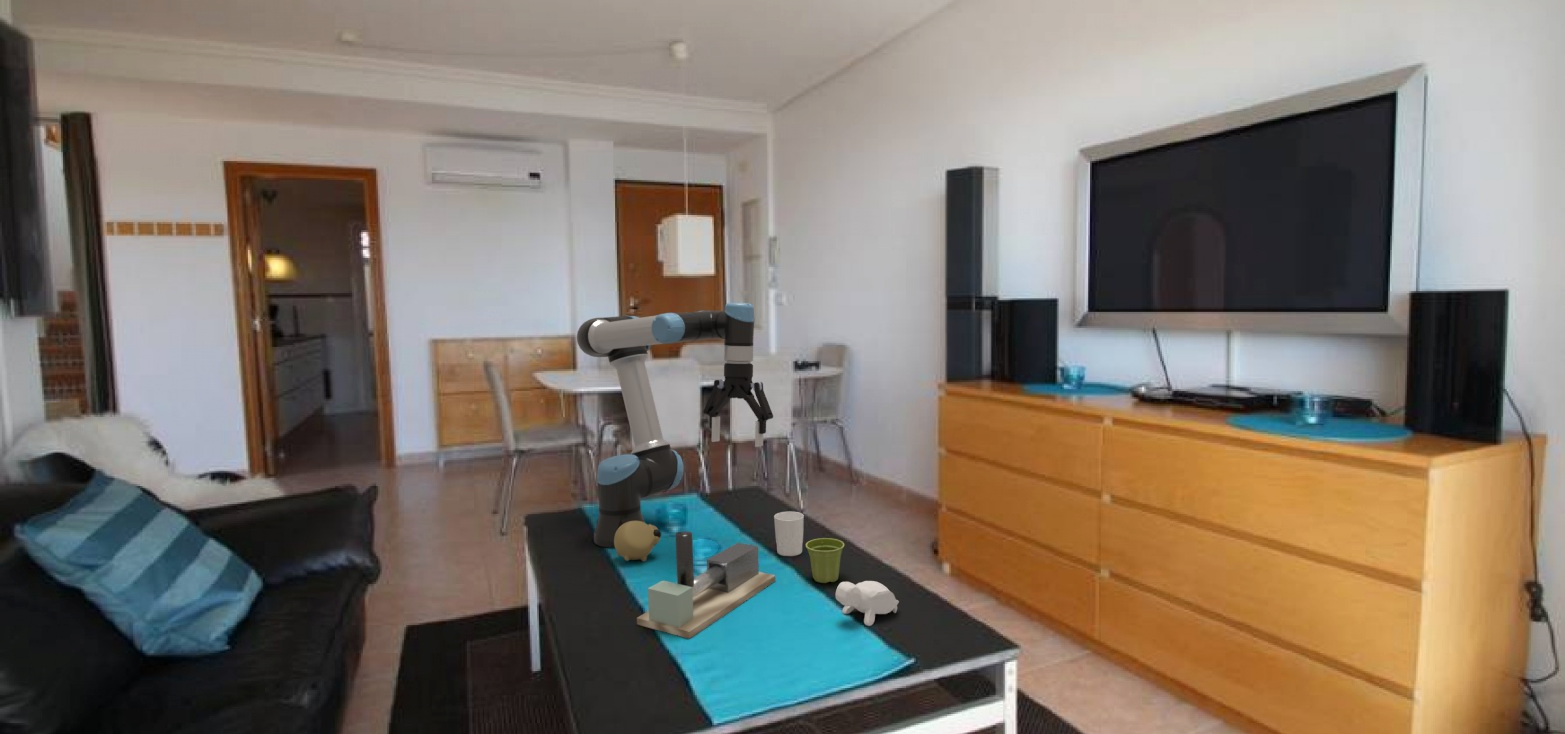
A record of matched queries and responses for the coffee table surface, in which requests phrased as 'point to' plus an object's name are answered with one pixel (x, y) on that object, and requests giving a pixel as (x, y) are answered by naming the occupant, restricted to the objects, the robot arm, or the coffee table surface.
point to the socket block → (670, 603)
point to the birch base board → (711, 606)
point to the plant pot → (825, 558)
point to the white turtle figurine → (866, 599)
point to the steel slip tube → (687, 571)
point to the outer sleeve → (735, 565)
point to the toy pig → (636, 540)
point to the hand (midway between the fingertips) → (736, 443)
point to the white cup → (789, 533)
